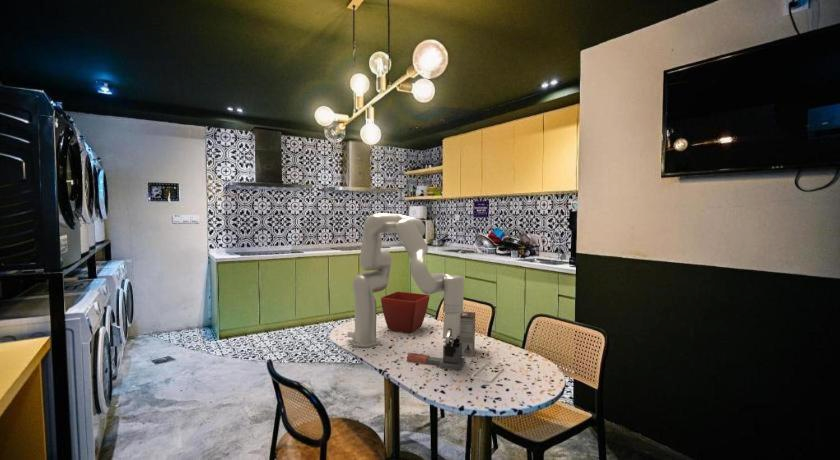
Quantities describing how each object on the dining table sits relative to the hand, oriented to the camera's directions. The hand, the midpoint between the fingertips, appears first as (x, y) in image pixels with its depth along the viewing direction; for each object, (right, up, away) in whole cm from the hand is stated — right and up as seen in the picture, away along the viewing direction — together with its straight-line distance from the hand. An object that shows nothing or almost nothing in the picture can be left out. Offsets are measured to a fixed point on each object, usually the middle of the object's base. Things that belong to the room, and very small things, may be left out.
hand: (452, 351), depth 151 cm
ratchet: (-7, -5, +3) cm, 9 cm away
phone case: (+12, -6, -7) cm, 16 cm away
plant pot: (-20, -4, +48) cm, 52 cm away
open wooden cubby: (0, -3, 0) cm, 3 cm away
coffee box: (+7, -5, +16) cm, 18 cm away
